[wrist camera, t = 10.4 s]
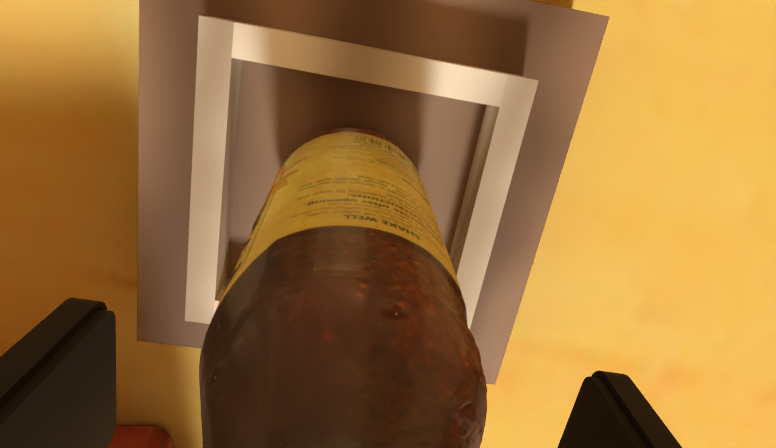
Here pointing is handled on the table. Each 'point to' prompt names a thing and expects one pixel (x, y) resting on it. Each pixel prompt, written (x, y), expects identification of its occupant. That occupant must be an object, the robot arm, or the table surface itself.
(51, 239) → the table surface
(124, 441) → the plant pot
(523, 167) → the condiment stand
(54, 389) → the robot arm
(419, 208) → the sauce bottle
